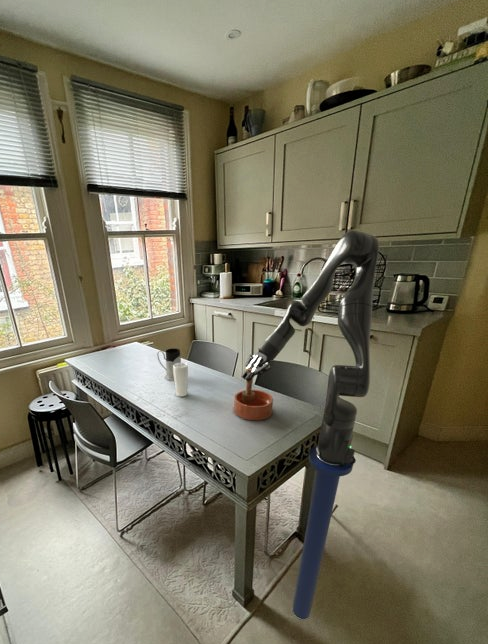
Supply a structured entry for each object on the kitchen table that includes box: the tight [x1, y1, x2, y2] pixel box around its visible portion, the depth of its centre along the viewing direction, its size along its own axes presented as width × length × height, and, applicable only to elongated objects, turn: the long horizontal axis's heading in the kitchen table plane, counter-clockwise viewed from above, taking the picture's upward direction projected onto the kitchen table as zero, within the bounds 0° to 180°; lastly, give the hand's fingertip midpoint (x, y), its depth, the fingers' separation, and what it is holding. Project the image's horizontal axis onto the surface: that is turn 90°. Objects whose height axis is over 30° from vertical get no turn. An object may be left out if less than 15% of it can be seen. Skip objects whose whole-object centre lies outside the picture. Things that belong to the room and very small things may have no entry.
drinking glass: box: [173, 362, 189, 397], centre depth 147 cm, size 7×7×15 cm
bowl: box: [233, 389, 274, 421], centre depth 132 cm, size 16×16×6 cm
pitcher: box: [156, 347, 182, 382], centre depth 167 cm, size 9×14×15 cm, turn 60°
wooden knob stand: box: [242, 367, 255, 402], centre depth 130 cm, size 5×5×14 cm
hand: (244, 379), depth 128 cm, fingers closed on wooden knob stand
